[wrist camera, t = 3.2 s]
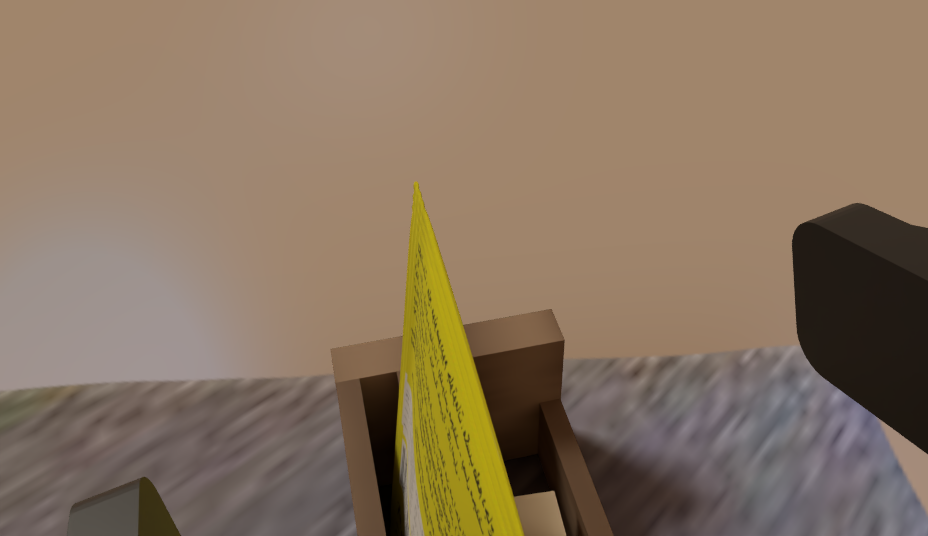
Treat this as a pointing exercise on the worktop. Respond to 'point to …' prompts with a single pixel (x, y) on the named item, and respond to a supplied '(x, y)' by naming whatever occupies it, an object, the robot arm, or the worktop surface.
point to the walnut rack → (509, 403)
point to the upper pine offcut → (540, 514)
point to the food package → (443, 413)
